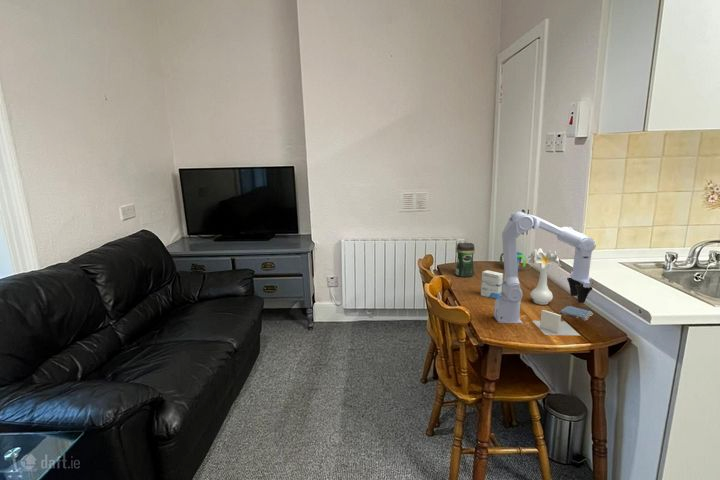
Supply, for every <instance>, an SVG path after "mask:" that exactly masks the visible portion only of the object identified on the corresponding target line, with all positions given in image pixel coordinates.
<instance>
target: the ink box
mask: <svg viewBox="0 0 720 480" xmlns="http://www.w3.org/2000/svg"><path fill="white" fill-rule="evenodd" d="M503 278H504V273H502V272H498V271H493V270H484V271H481V283H480V284H481V287H480V296H483V297H486V298H490V299H495V300H496V299H500V298H502V295H503V294H502V293H503V291H502V288H501V287H502V284H503Z"/></svg>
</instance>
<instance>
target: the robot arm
mask: <svg viewBox="0 0 720 480" xmlns="http://www.w3.org/2000/svg"><path fill="white" fill-rule="evenodd" d="M532 229H533V230H536V229H541V230H543V231H546V232H547V233H548V232H549V233H551V234H553V235H555V236H556V238H557V240H558V241H560V242H563V243H564V244H566V245H569V246H571V247H574V248H575V250H574V256H573V262H572V263H573V265H572V271H570V277H567V278H566V279H567V283H568V285H569V291H570V292H569V293H570V296H571V297H577V303H580V304H585V302H586V300H587V298H588V296H589V293H590V292H591V291H592V290H593V286H592V285H591V282H590V281H591V280H593V279H592V277H591V276H590V268H591V262H592V254H593V253H592V252H593V251H594V250H595V248H596V244H595V240H594V239H593V238H592V237H589V236H587V235H585V233H583V232H578V231H576V230H575V229H574V228H573V227H571V226H563V227H559V226H557V225H555V224H554V223H550V222H549V221H547V220H544V219H542V218H541V217H539V216H536V215H534V214H533V215H532V214H529V213H527V214H526V213H525V212H523V211H517V212H514V213H513V214H512V215H510V217H509V218H508V221H507V223H506V225H505V227H504V228H503V230H502V233H501V239H502V253H503V256H502V259H503V270H504V273H503V282H502V287H501V288H502V293H503V294H502V295H501V297H500V298H499V299H495V301H494V311H493V317H494V318H495V320H496V321H497V323H499V324H500V323H501V324H506V323H509V324H523V323H524V322H523V321H522V320H521V318H520V313H521V300H522V298H523V295H524V292H523V290H522V288H521V283H520V280H519V273H518V272H519V270H517V252H518V251H517V238H519V237H520V236H521V235H522V234H524V233H526V232H528V231H530V230H532Z"/></svg>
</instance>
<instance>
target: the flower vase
mask: <svg viewBox="0 0 720 480" xmlns="http://www.w3.org/2000/svg"><path fill="white" fill-rule="evenodd" d="M527 258H528V259H529V260H528V264H530V265H529V267H530V268H531V267H532V266H533V265H534V264H539V267H540V271H539V279H538V283H537V285H536V287H534V288H533V289H532V291H530V298H531V299H532V300H533V303H535V304H537V305H542V306H543V305H544V306H545V305H546V306H547V305H548V304H549V302H551V301H552V300H553V299H554V296H553V293H552V291H551V290H550V289H549V287H548V271H549V268H550V265H552V264H554V263H555V264H556V265H558V266H559V267H562V265H561V263H560V262H559V256H558V254H557V252H556V250H554V254H553V253H552V252H551V250H550V249H547V250H546V251H545V252H543V249H542V248H540V247H539V248H538V249H537V248H535V249H534V250H533V251H532V252H530V254H529V255H528V257H527Z"/></svg>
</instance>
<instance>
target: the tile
mask: <svg viewBox="0 0 720 480" xmlns="http://www.w3.org/2000/svg"><path fill="white" fill-rule="evenodd" d="M561 319H562V314H558V313H556V312H552V311H549V310H546V309H541V315H540V321H541V322H540V327H541V328H544V329H547V330H549V331H552V332H555V333H559V331H560V322H561V321H562V320H561Z"/></svg>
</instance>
